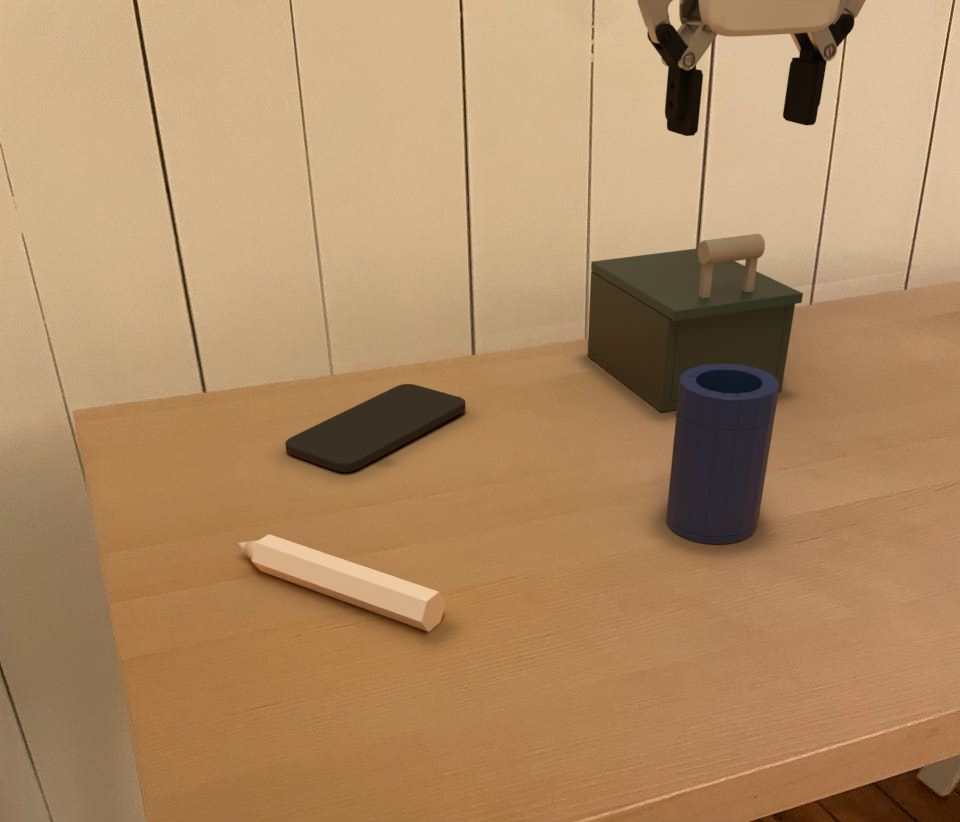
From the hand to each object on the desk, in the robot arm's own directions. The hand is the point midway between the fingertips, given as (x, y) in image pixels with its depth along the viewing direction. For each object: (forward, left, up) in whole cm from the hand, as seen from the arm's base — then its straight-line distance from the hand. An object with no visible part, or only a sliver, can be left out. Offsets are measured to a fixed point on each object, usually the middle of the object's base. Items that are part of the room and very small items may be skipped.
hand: (741, 127), depth 72 cm
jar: (+14, +14, -21) cm, 29 cm away
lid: (-4, -7, -13) cm, 15 cm away
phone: (+24, -13, -21) cm, 35 cm away
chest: (-4, -7, -21) cm, 23 cm away
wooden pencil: (+39, +5, -21) cm, 45 cm away
